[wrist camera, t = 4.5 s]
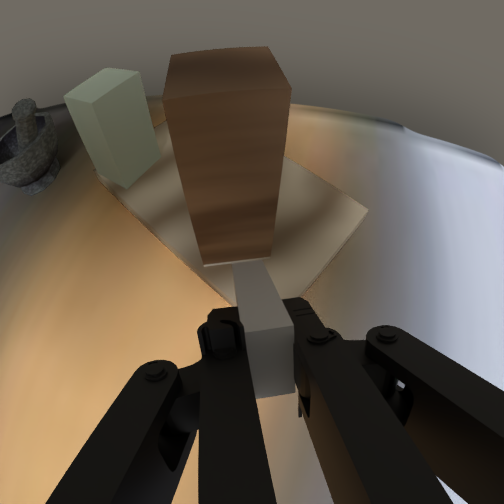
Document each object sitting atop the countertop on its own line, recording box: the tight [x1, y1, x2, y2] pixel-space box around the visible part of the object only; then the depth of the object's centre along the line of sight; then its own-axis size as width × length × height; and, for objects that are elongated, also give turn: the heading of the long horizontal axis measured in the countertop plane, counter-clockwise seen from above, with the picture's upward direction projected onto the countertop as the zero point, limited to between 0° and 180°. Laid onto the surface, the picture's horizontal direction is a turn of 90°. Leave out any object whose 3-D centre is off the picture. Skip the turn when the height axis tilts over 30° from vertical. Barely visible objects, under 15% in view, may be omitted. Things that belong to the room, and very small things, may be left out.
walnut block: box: [162, 47, 292, 267], centre depth 17 cm, size 5×5×14 cm
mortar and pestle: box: [0, 98, 60, 196], centre depth 24 cm, size 11×9×12 cm
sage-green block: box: [63, 68, 161, 189], centre depth 23 cm, size 5×5×10 cm
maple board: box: [94, 120, 368, 307], centre depth 27 cm, size 24×14×2 cm, turn 48°
